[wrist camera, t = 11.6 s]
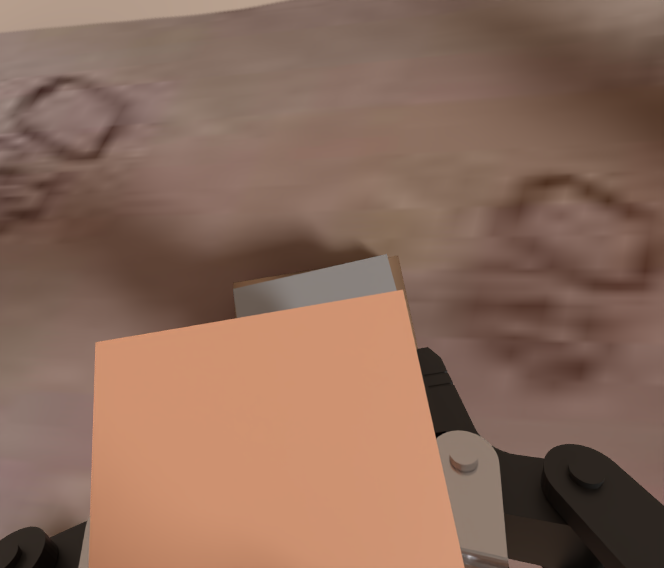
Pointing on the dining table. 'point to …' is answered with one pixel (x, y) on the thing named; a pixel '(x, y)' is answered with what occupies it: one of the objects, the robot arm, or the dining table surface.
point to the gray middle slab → (316, 287)
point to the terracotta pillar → (269, 445)
